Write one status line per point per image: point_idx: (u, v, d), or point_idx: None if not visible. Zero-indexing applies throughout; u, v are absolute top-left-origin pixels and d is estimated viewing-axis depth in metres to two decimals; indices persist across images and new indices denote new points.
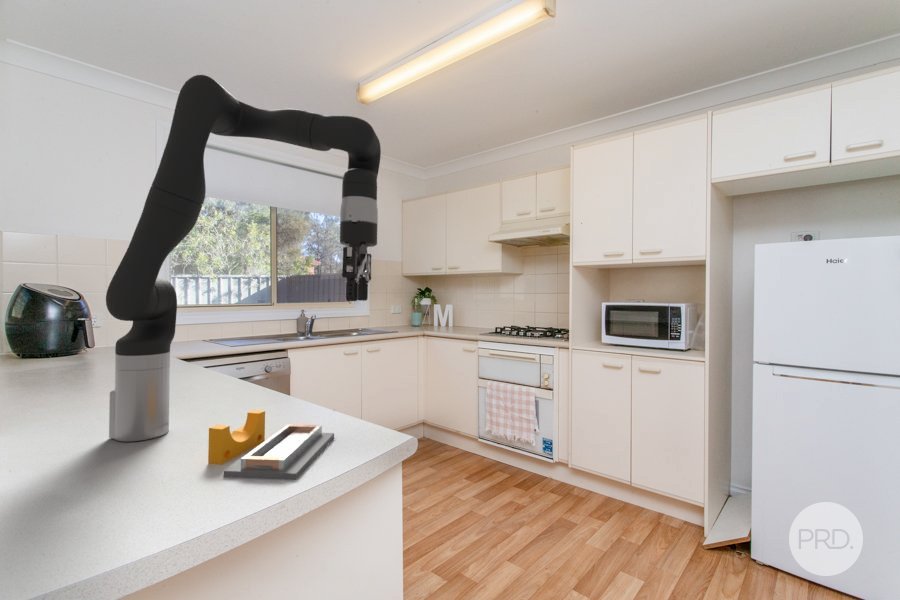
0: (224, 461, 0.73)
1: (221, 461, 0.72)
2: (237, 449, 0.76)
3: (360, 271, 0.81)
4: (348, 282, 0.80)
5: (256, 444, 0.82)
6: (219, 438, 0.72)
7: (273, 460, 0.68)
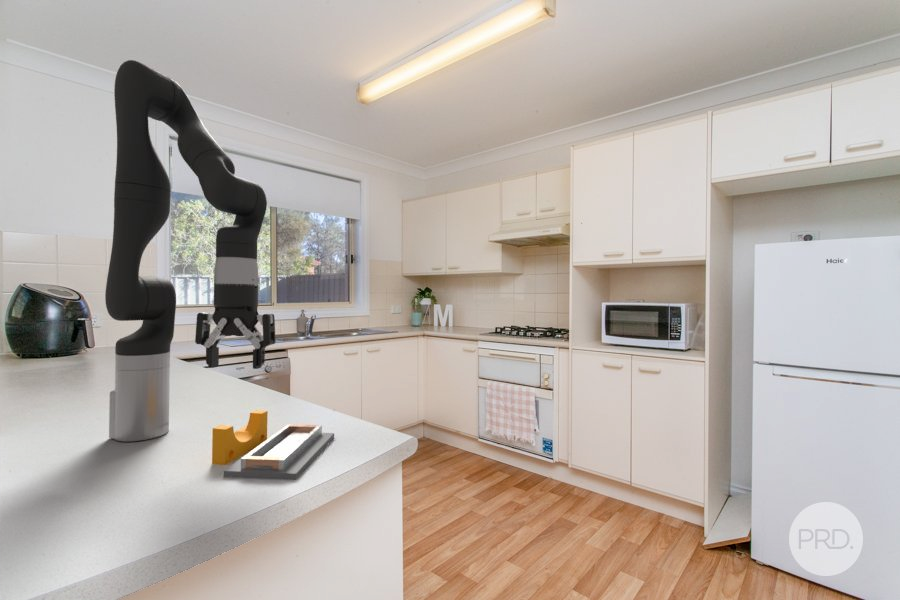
0: (228, 461, 0.73)
1: (225, 461, 0.72)
2: (240, 449, 0.76)
3: None
4: (262, 349, 0.78)
5: (259, 444, 0.81)
6: (223, 438, 0.72)
7: (273, 460, 0.68)
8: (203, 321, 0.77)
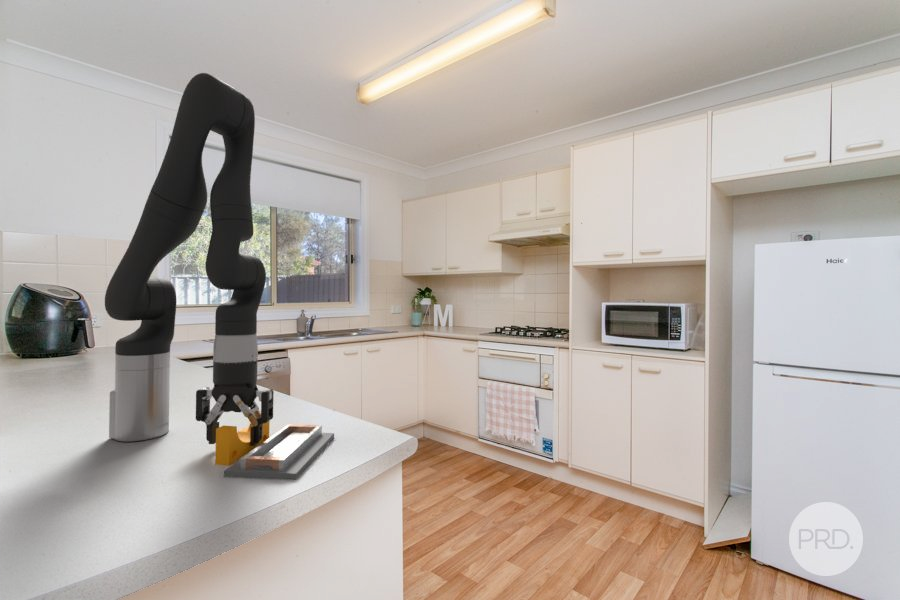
0: (231, 462, 0.73)
1: (229, 462, 0.72)
2: (244, 449, 0.76)
3: None
4: (259, 426, 0.78)
5: None
6: (226, 439, 0.72)
7: (273, 460, 0.68)
8: (202, 398, 0.78)
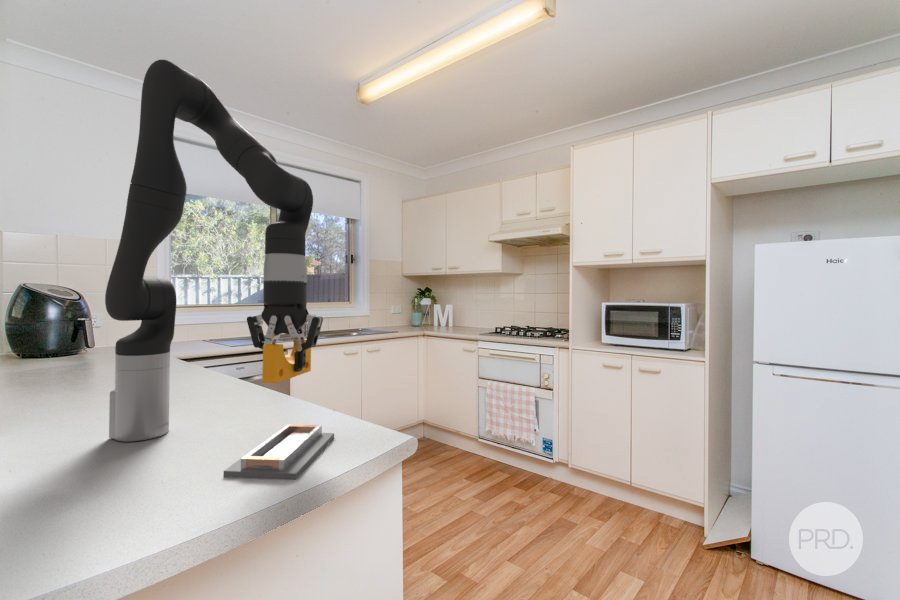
0: (279, 379, 0.72)
1: (276, 378, 0.71)
2: (289, 370, 0.75)
3: None
4: (303, 352, 0.76)
5: (304, 370, 0.80)
6: (274, 355, 0.71)
7: (273, 460, 0.68)
8: (254, 323, 0.76)
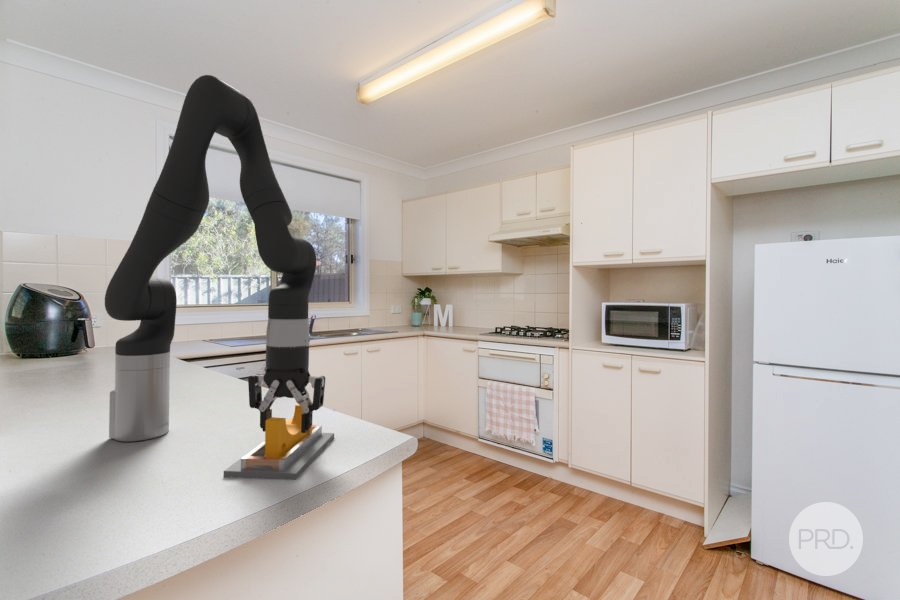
0: (281, 454, 0.72)
1: (279, 454, 0.71)
2: (291, 441, 0.75)
3: None
4: (310, 413, 0.77)
5: None
6: (276, 430, 0.71)
7: (273, 460, 0.68)
8: (255, 384, 0.76)
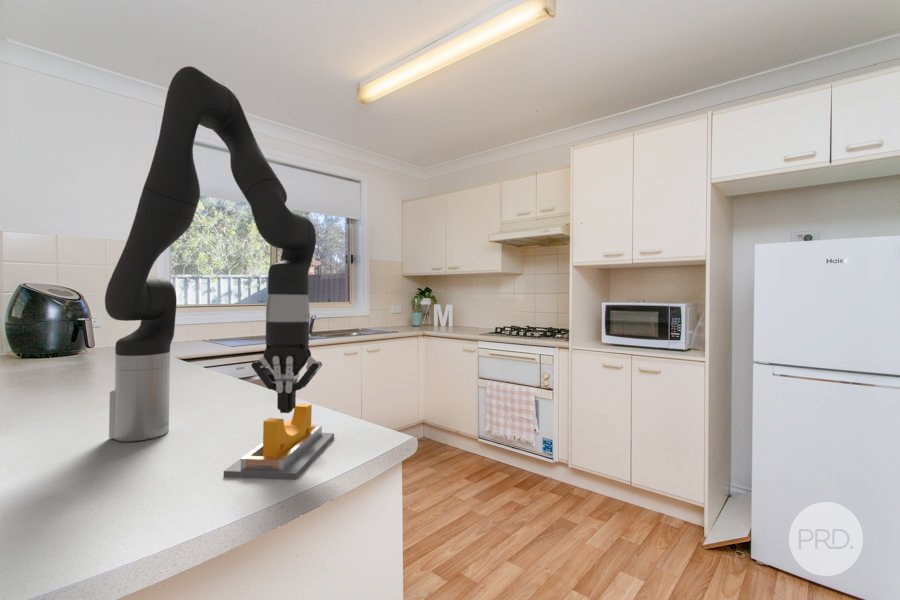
0: (279, 455, 0.71)
1: (276, 455, 0.71)
2: (289, 442, 0.75)
3: None
4: (293, 393, 0.76)
5: None
6: (274, 431, 0.71)
7: (273, 460, 0.68)
8: (260, 367, 0.76)
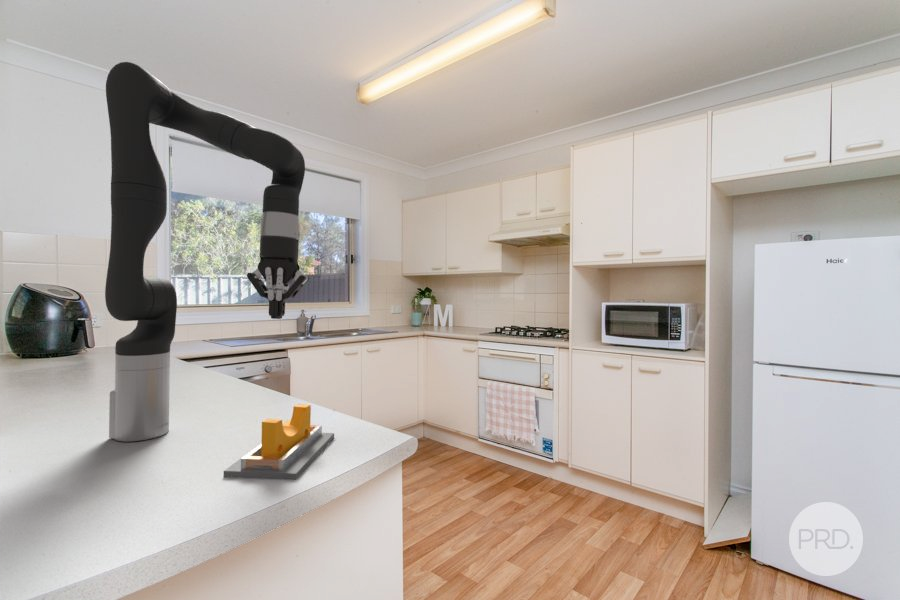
0: (277, 456, 0.71)
1: (275, 456, 0.70)
2: (288, 443, 0.74)
3: None
4: (282, 301, 0.86)
5: None
6: (273, 432, 0.70)
7: (273, 460, 0.68)
8: (255, 277, 0.86)
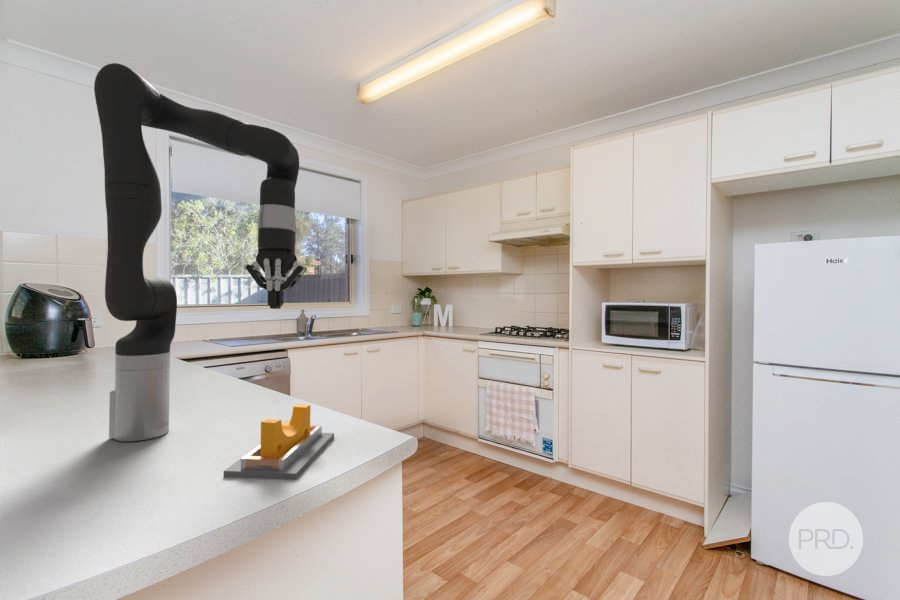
0: (276, 456, 0.71)
1: (274, 456, 0.70)
2: (287, 443, 0.74)
3: None
4: (281, 292, 0.89)
5: None
6: (272, 432, 0.70)
7: (273, 460, 0.68)
8: (253, 268, 0.88)
